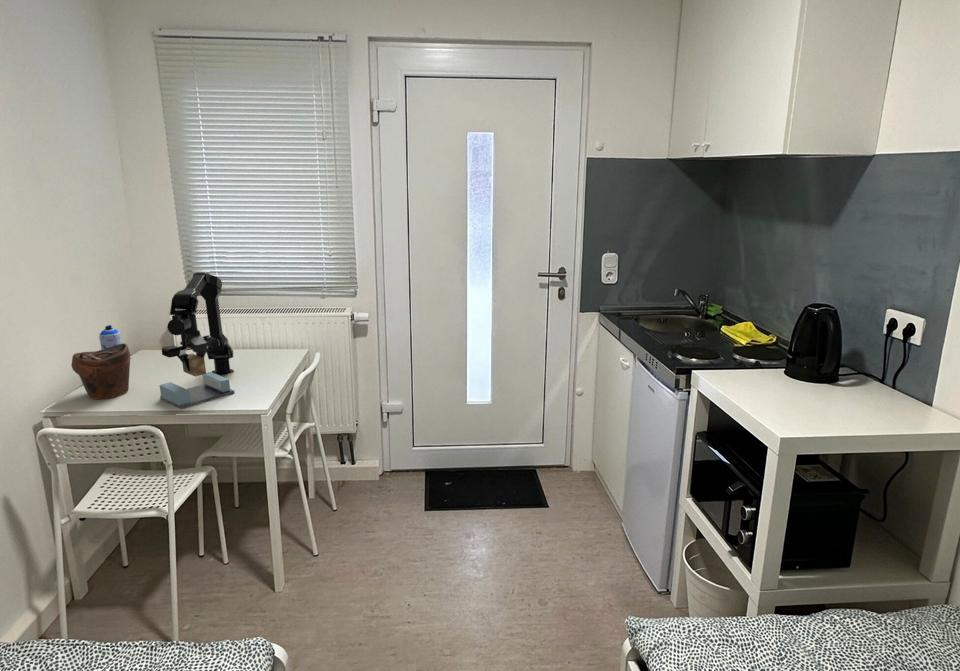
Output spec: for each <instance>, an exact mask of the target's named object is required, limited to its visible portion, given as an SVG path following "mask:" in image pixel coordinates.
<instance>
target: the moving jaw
mask: <svg viewBox="0 0 960 671" xmlns="http://www.w3.org/2000/svg"><path fill="white" fill-rule="evenodd" d="M201 376H202V381H203V384H204V385H207V386H209V387H211V388H214V389H216V390H218V391H221V392H225V391H229V390H230V389H231V386H230V379H229V378H226V377H223V376H222V375H217V374H215V373H212V371H207V372H206V374H204V375H201Z"/></svg>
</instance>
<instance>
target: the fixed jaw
mask: <svg viewBox="0 0 960 671" xmlns="http://www.w3.org/2000/svg"><path fill="white" fill-rule="evenodd" d="M158 387H159V390H160V391H159V392H160V396H161V397H163V398H165V399H167V400H169V401H171V402H173V403H175V404H177V405H179V406H180V405H183V404H187V403H190V393H189V390H187V389H188V388H185V387H184V386H180V385H178V384H176V383H174V382H172V381H170V382H169V381H168V382H166V383H161V384H160V385H159V386H158Z"/></svg>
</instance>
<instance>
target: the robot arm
mask: <svg viewBox="0 0 960 671" xmlns="http://www.w3.org/2000/svg"><path fill="white" fill-rule="evenodd" d="M222 287H223V282H222V280H221V279H220V278H219V277H218V276H216V275H213V274H210V273H209V272H204V271H202V272H201V271H200V272H199V271H198V272H194V273H193V275H192V278H191V279H190V280H189V282H188V284H187V285H186V286H185V288H184V289H181V290H178V291H177V292H176V293H174V294H173V297H172V299H171V304H170V310H169V316H171V319H170V320H169V321H168V323H167V327H166V328H167V331H168V332H169V333H170V334H171V335H173V336H180V340H181V341H180V346H176V345H167V346H163V347H162V348H161V355H162V356H164V357H167V358H174V357H177V358H178V360H180V361H181V364H182V363H183V364H182V366H183V365H184V366H185V368H186V369H187V371H190V369H189V363H188V354H189V353H186V352H187V351H190V350H192V351H193V353H195V355H198V356H200V357H203V358H204V359H205V356H206V354H207V358H208V360H213V365H214V370H211V372H212V373H214V374H217V375H219V376H222V375H226V374H229V373H233V372H235V371H234V369H232V368H231V366H230V359H232V358H234V350H233V348H232V346H231V345H230V344H229V340H228V338H227V337H226V336H225V335H224V333H223V326H222V319H221V311H220V305H219V304H220V303H219V298H220V295H221V293H222ZM199 295H200V296H201V297H202V298H203V299H204V301H205V308H206V316H207V325H208V330H209V334H207V335H204V336H202V335H201V332H200V330H198V329H199V328H198V322H197V321H198V320H197V315H196V313H197V310H198V309H197V308H198V306H199V305H198V304H199V299H198V297H199Z"/></svg>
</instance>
